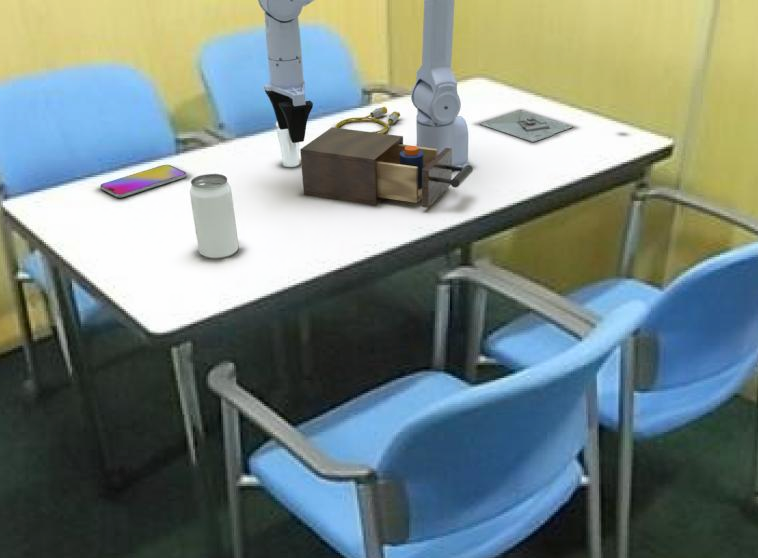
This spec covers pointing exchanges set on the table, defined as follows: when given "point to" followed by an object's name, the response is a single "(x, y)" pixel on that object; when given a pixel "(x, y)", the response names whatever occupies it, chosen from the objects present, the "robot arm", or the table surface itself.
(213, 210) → the can
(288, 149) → the milkshake
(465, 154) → the robot arm
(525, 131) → the mousepad
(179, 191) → the table surface
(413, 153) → the glue bottle
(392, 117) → the extension cord
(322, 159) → the cabinet
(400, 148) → the drawer
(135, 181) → the smartphone
